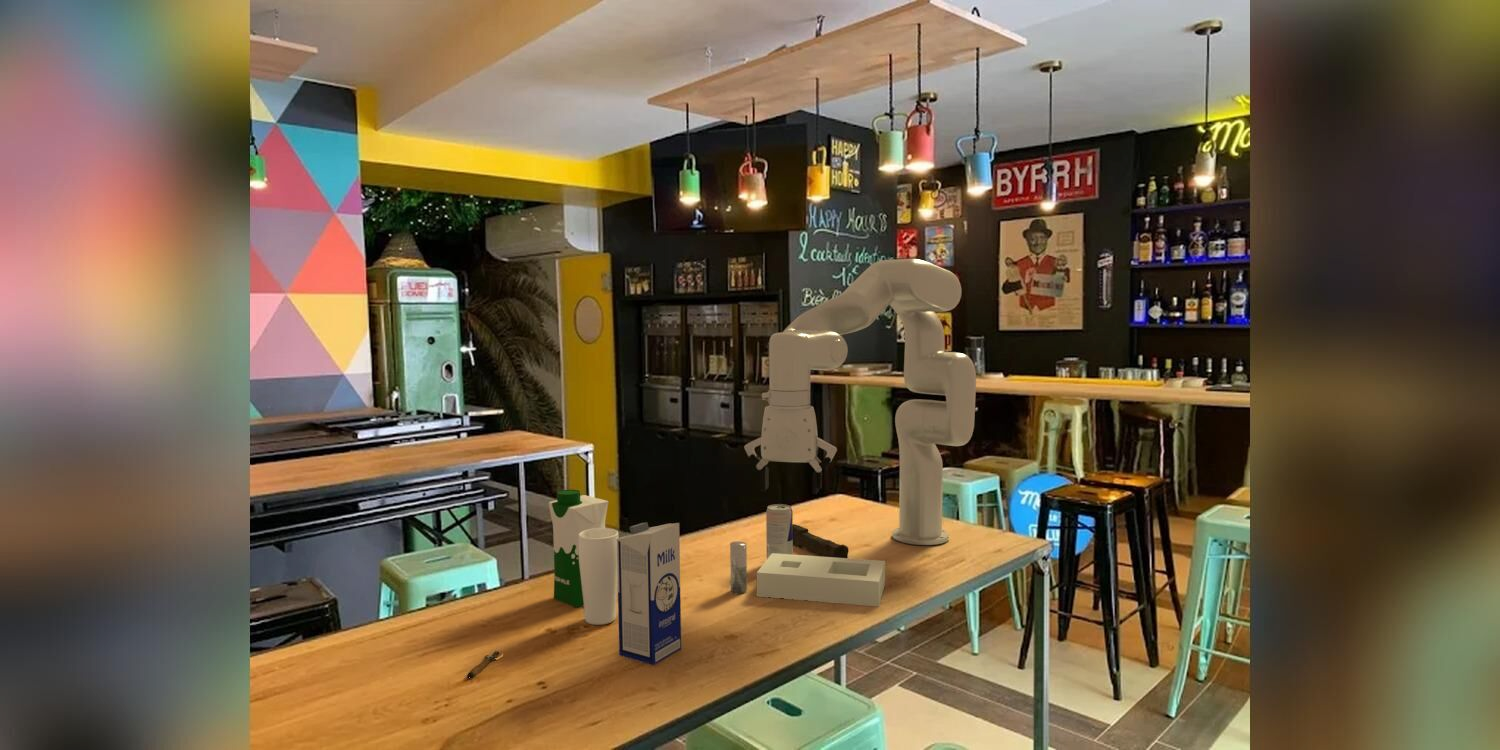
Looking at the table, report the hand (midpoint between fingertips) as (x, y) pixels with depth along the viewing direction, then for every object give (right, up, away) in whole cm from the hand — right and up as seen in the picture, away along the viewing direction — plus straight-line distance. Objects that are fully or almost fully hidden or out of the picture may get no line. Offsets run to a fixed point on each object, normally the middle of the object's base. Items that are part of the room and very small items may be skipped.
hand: (790, 490), depth 150 cm
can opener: (-47, -22, -31) cm, 60 cm away
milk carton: (-23, -21, -27) cm, 41 cm away
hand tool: (+6, -17, +24) cm, 30 cm away
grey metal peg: (-10, -19, 0) cm, 21 cm away
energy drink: (-1, -18, +15) cm, 23 cm away
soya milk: (-38, -19, -3) cm, 43 cm away
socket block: (+6, -19, 0) cm, 19 cm away
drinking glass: (-33, -20, -14) cm, 41 cm away
